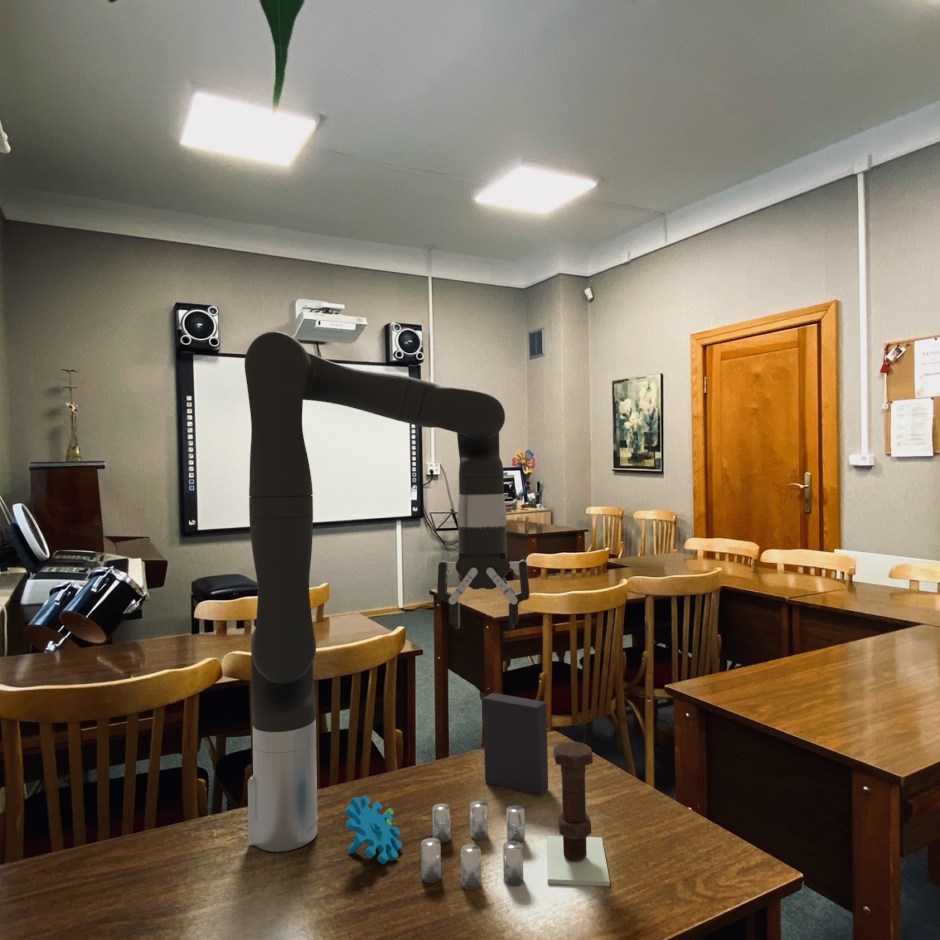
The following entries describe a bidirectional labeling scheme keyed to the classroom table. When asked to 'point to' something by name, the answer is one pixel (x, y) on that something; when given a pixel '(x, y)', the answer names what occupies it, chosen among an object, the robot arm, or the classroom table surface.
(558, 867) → the plate
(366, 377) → the robot arm
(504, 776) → the dark grey slab
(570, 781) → the bolt
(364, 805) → the gear
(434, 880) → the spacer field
